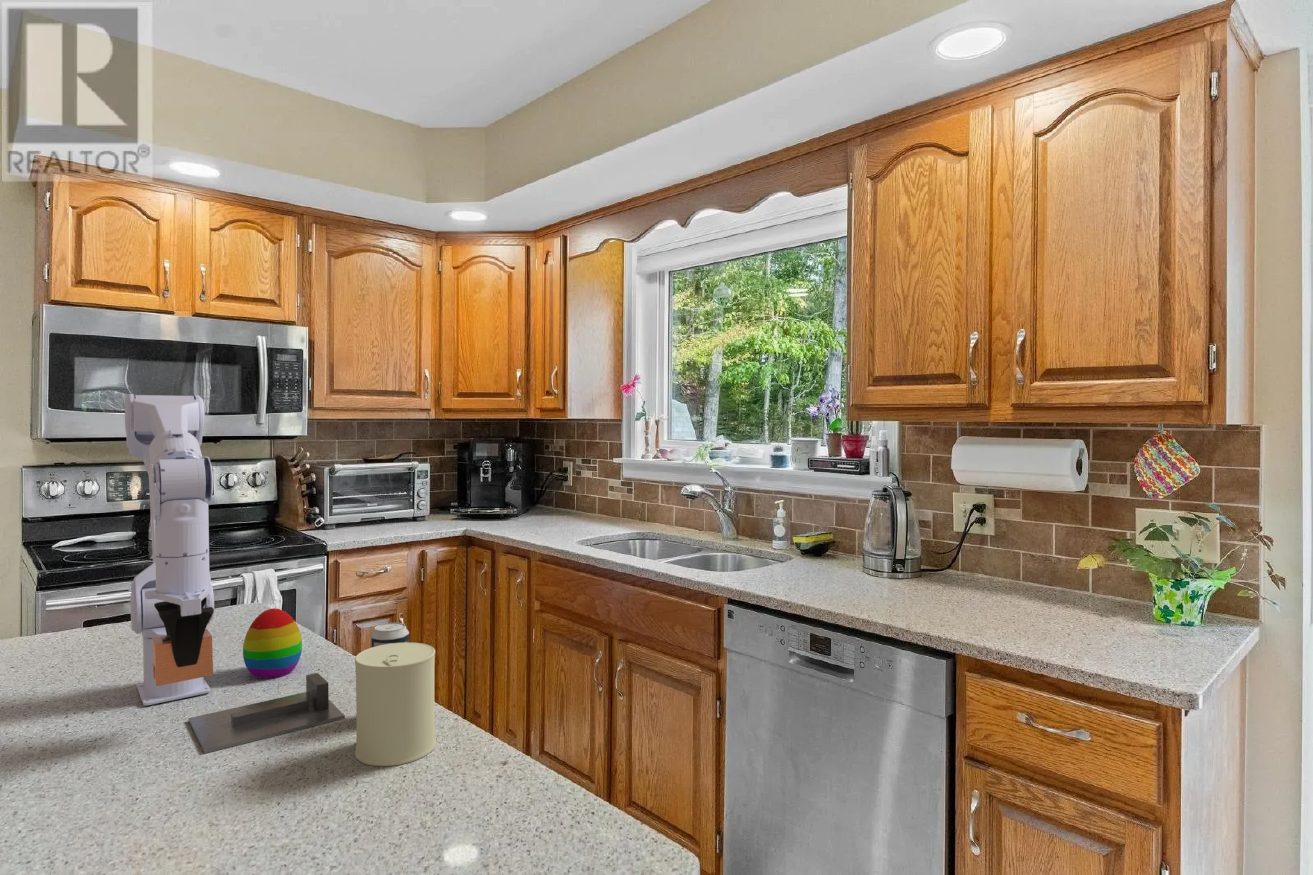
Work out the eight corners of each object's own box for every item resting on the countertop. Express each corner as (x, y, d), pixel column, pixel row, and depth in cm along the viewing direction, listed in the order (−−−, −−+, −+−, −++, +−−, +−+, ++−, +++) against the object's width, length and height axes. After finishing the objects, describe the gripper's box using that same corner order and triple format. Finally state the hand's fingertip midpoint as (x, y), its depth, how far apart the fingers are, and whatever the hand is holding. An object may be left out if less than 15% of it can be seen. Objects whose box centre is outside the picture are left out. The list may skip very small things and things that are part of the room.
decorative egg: (314, 666, 118) (313, 604, 118) (275, 684, 110) (275, 617, 110) (270, 662, 120) (270, 600, 120) (230, 679, 112) (229, 613, 112)
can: (350, 771, 83) (349, 665, 83) (359, 736, 92) (359, 641, 92) (435, 761, 86) (434, 658, 86) (437, 728, 95) (436, 635, 94)
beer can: (363, 718, 98) (362, 628, 97) (391, 706, 102) (391, 619, 102) (389, 726, 95) (388, 633, 95) (417, 712, 100) (416, 624, 99)
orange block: (153, 677, 93) (151, 637, 93) (208, 666, 97) (207, 627, 97) (156, 686, 90) (155, 644, 90) (213, 675, 94) (211, 634, 94)
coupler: (188, 721, 97) (187, 690, 97) (318, 692, 107) (317, 664, 107) (204, 753, 88) (203, 720, 87) (344, 718, 98) (344, 688, 98)
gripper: (139, 549, 96) (141, 652, 97) (149, 566, 85) (151, 683, 86) (202, 543, 101) (203, 642, 101) (220, 559, 90) (221, 670, 90)
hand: (184, 660), depth 94 cm, fingers closed on orange block, 4 cm apart
